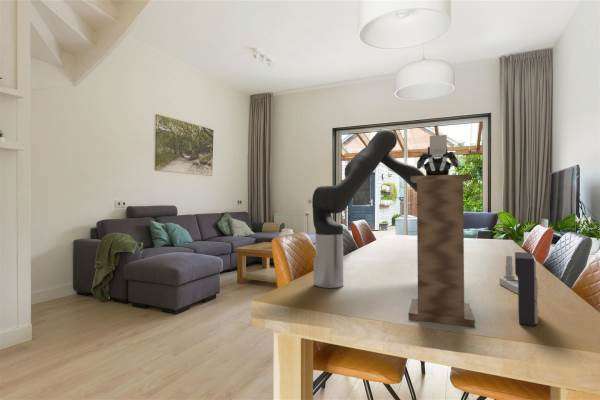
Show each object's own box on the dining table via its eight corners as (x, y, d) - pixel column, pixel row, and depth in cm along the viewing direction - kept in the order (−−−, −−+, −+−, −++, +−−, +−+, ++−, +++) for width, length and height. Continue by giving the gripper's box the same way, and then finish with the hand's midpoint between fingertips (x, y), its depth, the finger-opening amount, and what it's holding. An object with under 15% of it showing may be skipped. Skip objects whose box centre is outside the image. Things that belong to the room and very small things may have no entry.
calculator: (539, 327, 75) (538, 259, 75) (515, 323, 77) (515, 257, 77) (536, 313, 84) (535, 252, 84) (515, 310, 86) (514, 251, 87)
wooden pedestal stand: (408, 319, 80) (407, 175, 81) (412, 303, 93) (411, 179, 93) (474, 326, 75) (473, 173, 75) (468, 309, 88) (467, 177, 88)
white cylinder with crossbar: (430, 158, 115) (430, 147, 115) (444, 157, 114) (444, 146, 114) (429, 149, 96) (429, 135, 96) (446, 148, 94) (446, 134, 94)
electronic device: (519, 264, 100) (496, 254, 115) (519, 297, 101) (496, 283, 116) (539, 264, 100) (513, 255, 115) (538, 297, 100) (513, 284, 115)
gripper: (416, 169, 127) (414, 139, 113) (458, 167, 122) (461, 136, 108) (416, 186, 123) (414, 157, 110) (459, 185, 118) (462, 155, 104)
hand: (437, 147), depth 109 cm, fingers closed on white cylinder with crossbar, 3 cm apart
